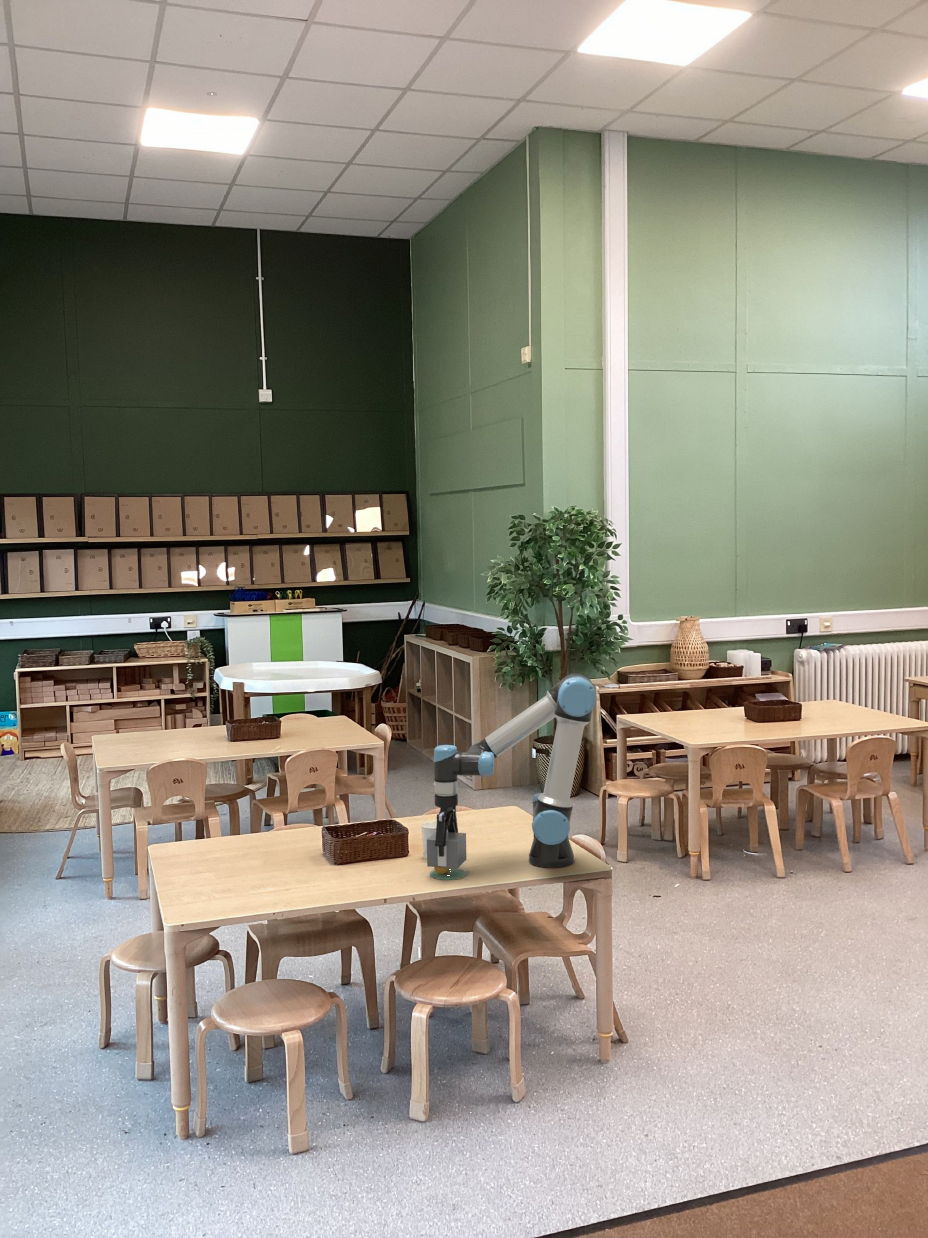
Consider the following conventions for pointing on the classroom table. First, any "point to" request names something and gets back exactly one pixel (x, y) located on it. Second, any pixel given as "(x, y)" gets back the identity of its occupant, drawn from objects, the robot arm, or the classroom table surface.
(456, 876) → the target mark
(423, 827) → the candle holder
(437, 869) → the ball
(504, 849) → the classroom table surface
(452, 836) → the grey matte cube
